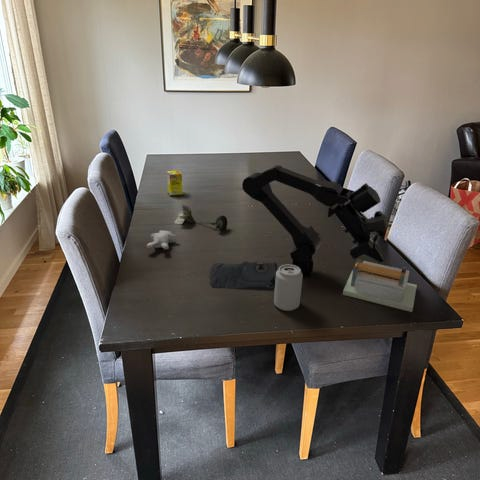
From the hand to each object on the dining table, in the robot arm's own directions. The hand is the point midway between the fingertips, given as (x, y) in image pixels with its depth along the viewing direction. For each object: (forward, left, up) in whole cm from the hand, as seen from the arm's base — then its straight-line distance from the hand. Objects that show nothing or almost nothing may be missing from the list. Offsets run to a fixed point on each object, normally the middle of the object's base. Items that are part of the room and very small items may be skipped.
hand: (382, 261), depth 129 cm
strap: (0, 0, -4) cm, 4 cm away
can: (-28, -11, -11) cm, 32 cm away
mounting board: (+1, 0, -10) cm, 10 cm away
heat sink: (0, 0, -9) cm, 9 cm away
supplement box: (-80, +77, -11) cm, 111 cm away
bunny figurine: (-73, +21, -11) cm, 76 cm away
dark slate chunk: (-42, +3, -11) cm, 43 cm away
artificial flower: (-63, +41, -11) cm, 76 cm away
